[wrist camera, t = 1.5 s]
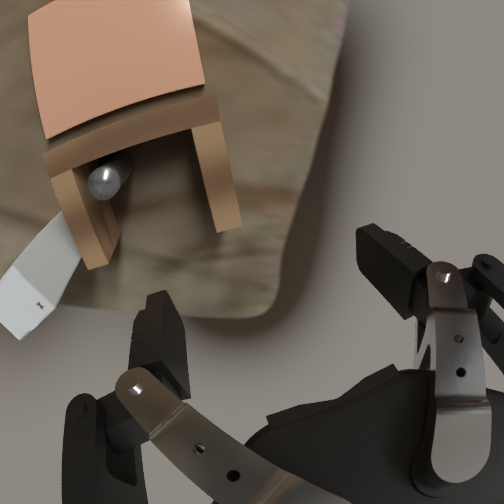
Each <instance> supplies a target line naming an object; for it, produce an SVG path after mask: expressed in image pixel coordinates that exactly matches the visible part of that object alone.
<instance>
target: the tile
mask: <svg viewBox="0 0 504 504" xmlns="http://www.w3.org/2000/svg"><path fill="white" fill-rule="evenodd" d="M28 30H29V45H30V56H31V64H32V72H33V79H34V85H35V91H36V96H37V102H38V107H39V111H40V116H41V120H42V125H43V129H44V133H45V137H46V140H47V139H50V138H52V137H54V136H56V135H58V134H60V133H62V132H64V131H66V130H69V129H71V128H73V127H75V126H77V125H80V124H82V123H84V122H87V121H89V120H91V119H94V118H96V117H99V116H101V115H104V114H106V113H109V112H112V111H114V110H117V109H120V108H123V107H125V106H128V105H131V104H134V103H137V102H140V101H144V100H147V99H150V98H153V97H157V96H160V95H164V94H167V93H171V92H175V91H179V90H182V89H187V88H191V87H195V86H199V85H204V84H205V79H204V75H203V70H202V65H201V60H200V55H199V50H198V45H197V40H196V35H195V30H194V25H193V20H192V15H191V10H190V5H189V0H55V1H53V2H51V3H49V4H47V5H46V6H44V7H42V8H40V9H39V10H37V11H35V12H33V13H32V14H30V15H28Z"/></svg>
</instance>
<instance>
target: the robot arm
mask: <svg viewBox="0 0 504 504" xmlns="http://www.w3.org/2000/svg"><path fill="white" fill-rule="evenodd" d="M356 259H357V264H358V267H359V270H360V271H361V273H362V274H363V275H364V276H365V277H366V278H367V279H368V280H369V281H370V282H371V283H372V285H373V286H374V287H375V288H376V289H377V290H378V291H379V292H380V293H381V294H382V295H383V297H384V298H385V299H386V300H387V301H388V302H389V303H390V304H391V305H392V307H393V308H394V309H395V310H396V311H397V312H398V313H399V314H400V316H401V317H402V318H403V319H404V320H406V319H408V318H410V317H412V316H413V315H414V316H415V317H416V318H417V319H416V324H415V328H416V329H415V354H414V364H413V369H406V370H400V371H398V370H397V369H396V367H395V366H394V364H391V365H389V366H387V367H386V368H383V369H381V370H379V371H377V372H375V373H373V374H371V375H369V376H367V377H365V378H364V379H363V380H361V381H360V382H359V383H358V384H356V385H355V386H354V387H352V388H351V389H350V390H349V391H347V392H346V393H344V394H343V395H342V396H340V397H339V398H337V399H334V400H328V401H322V402H316V403H309V404H302V405H298V406H295V407H292V408H289V409H286V410H283V411H280V412H277V413H274V414H271V415H268V416H266V418H267V421H268V425H267V426H265V427H263V428H262V429H260V430H259V431H258V432H256V433H255V434H254V435H253V436H252V437H251V438H249V440H248V441H247V442H246V443H245V444H244V445H243V444H241V443H240V442H238V441H237V440H235V439H234V438H232V437H231V436H230V435H228V434H227V433H225V432H224V431H222V430H221V429H220V428H218V427H217V426H216V425H215V424H213V423H212V422H211V421H209V420H208V419H207V418H205V417H204V416H203V415H202V414H200V413H199V412H198V411H197V410H195V409H194V408H193V407H192V406H190V405H189V404H187V403H184V402H182V400H185V399H190V398H191V394H190V385H189V374H188V364H187V352H186V339H185V329H184V325H183V322H182V320H181V317H180V315H179V314H178V312H177V310H176V308H175V306H174V304H173V302H172V300H171V298H170V296H169V294H168V293H167V291H166V290H163V291H160V292H157V293H153V294H150V295H148V296H147V301H146V309H144V310H141V311H139V313H138V315H137V316H136V318H135V320H134V323H133V330H132V331H133V333H132V338H131V339H132V341H131V346H130V355H129V365H128V371H126V372H124V373H123V374H122V375H121V376H120V378H119V379H118V381H117V383H116V386H115V391H113V392H112V393H109V394H108V395H106V396H104V397H102V398H100V399H98V400H96V399H95V398H94V397H93V396H92V395H90V394H87V393H83V394H79V395H77V396H76V397H74V398H73V399H72V400H71V402H70V403H69V405H68V407H67V410H66V417H65V427H64V436H63V452H62V504H148V499H147V493H146V487H145V480H144V472H143V464H142V455H141V444H143V443H145V442H147V441H149V440H151V441H152V443H153V444H154V445H155V446H156V447H157V448H158V449H159V450H160V451H161V452H162V453H163V454H164V455H165V456H166V457H167V458H168V459H169V460H170V461H171V462H172V463H173V464H174V465H175V466H176V467H177V468H178V469H179V470H180V471H181V472H182V473H183V474H184V475H186V476H187V477H188V478H189V479H190V480H191V481H192V482H193V483H195V484H196V485H197V486H198V487H199V488H200V489H201V490H203V491H204V492H205V493H206V494H207V495H209V496H210V497H211V498H212V499H214V501H213V502H212V504H504V393H503V392H500V391H496V390H492V389H488V388H486V386H485V371H484V360H483V351H482V347H483V348H484V350H485V351H486V352H487V353H488V354H489V356H490V357H491V358H492V360H493V361H494V362H495V364H496V365H497V366H498V367H499V369H500V370H501V372H502V373H503V374H504V322H503V321H502V320H501V319H500V318H499V317H498V316H497V315H496V313H495V312H493V310H492V309H491V308H490V304H491V302H492V299H494V300H495V301H496V302H497V303H499V305H500V306H501V307H502V308H503V309H504V264H503V263H502V262H500V261H499V260H498V259H496V258H495V257H493V256H491V255H488V254H479V255H477V256H475V257H474V259H473V263H472V267H469V268H464V269H458V268H457V267H456V266H454V265H453V264H451V263H448V262H444V261H438V262H432V261H431V260H429V259H428V258H427V257H426V256H424V255H423V254H422V253H421V252H419V251H418V250H417V249H416V248H414V247H412V246H411V245H410V244H409V243H407V242H405V240H404V239H402V238H401V237H400V236H398V235H397V234H394V233H391V232H389V231H384V230H382V229H381V228H380V227H378V226H377V225H376V224H374V223H372V224H369V225H366V226H363V227H360V228H358V229H357V230H356Z"/></svg>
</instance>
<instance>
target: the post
mask: <svg viewBox="0 0 504 504" xmlns="http://www.w3.org/2000/svg"><path fill="white" fill-rule="evenodd" d="M131 172H132V162H131V160H130V159H129V158H128V157H127V156H125V155H122V154H119V155H115V156H113V157H112V158H111V159H109V160H108V161H106V162H105V163H104V164H102V165H101V166H100V167H98V168H97V169H96V170H94V171H93V172H92V173H91V175H90V176H89V179H88V189H89V192H90V193H91V195H92V196H93V197H94V198H96V199H98V200H108V199H111V198H112V197H113V196H114V195H115V194H116V193H117V191H118V190H119V189H120V187H121V186H122V185H123V183H124V182H125V181H126V179H127V178H128V177H129V175H130V174H131Z"/></svg>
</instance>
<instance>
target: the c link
mask: <svg viewBox="0 0 504 504" xmlns="http://www.w3.org/2000/svg"><path fill="white" fill-rule="evenodd" d="M187 129H191V133H192V138H193V142H194V146H195V150H196V155H197V159H198V163H199V167H200V171H201V175H202V180H203V184H204V188H205V192H206V196H207V200H208V204H209V208H210V211H211V214H212V218H213V221H214V225H215V228H216V231H217V233H218V232H222V231H226V230H229V229H233V228H237V227H241V226H242V221H241V216H240V212H239V207H238V202H237V197H236V193H235V188H234V183H233V178H232V174H231V169H230V164H229V159H228V154H227V150H226V145H225V140H224V135H223V130H222V126H221V121H220V116H219V111H218V106H217V101H216V97H215V94H211V95H207V96H202V97H198V98H194V99H190V100H185V101H182V102H178V103H174V104H170V105H167V106H163V107H160V108H156V109H153V110H150V111H146V112H143V113H140V114H137V115H134V116H131V117H128V118H125V119H122V120H120V121H117V122H114V123H111V124H109V125H106V126H104V127H101V128H98V129H96V130H93V131H91V132H89V133H86V134H84V135H82V136H79V137H77V138H75V139H72V140H70V141H68V142H66V143H64V144H62V145H60V146H57V147H55V148H53V149H51V150H49V151H47V152H45V153H43V158H44V161H45V164H46V168H47V171H48V174H49V177H50V180H51V183H52V186H53V189H54V191H55V194H56V197H57V200H58V202H59V205H60V208H61V210H62V213H63V215H64V218H65V220H66V223H67V225H68V227H69V230H70V232H71V234H72V237H73V239H74V241H75V243H76V246H77V248H78V250H79V252H80V254H81V256H82V258H83V261H84V263H85V265H86V267H87V269H88V270H91V269H94V268H97V267H101V266H104V265H107V264H109V262H110V259H111V257H112V254H113V252H114V249H115V247H116V244H117V242H118V239H119V237H120V234H121V231H120V228H119V226H118V223H117V220H116V218H115V215H114V212H113V210H112V207H111V204H110V201H109V199H108V200H98V199H96V198H94V197H93V196H92V195H91V193H90V192H89V189H88V179H89V176H90V175H91V173H92V172H93V171H94V170H96V169H97V168H98V165H97V161H96V159H97V158H100V157H102V156H105V155H108V154H110V153H113V152H116V151H119V150H121V149H124V148H127V147H130V146H133V145H136V144H139V143H142V142H145V141H149V140H152V139H155V138H158V137H162V136H165V135H169V134H172V133H176V132H179V131H183V130H187Z"/></svg>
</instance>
